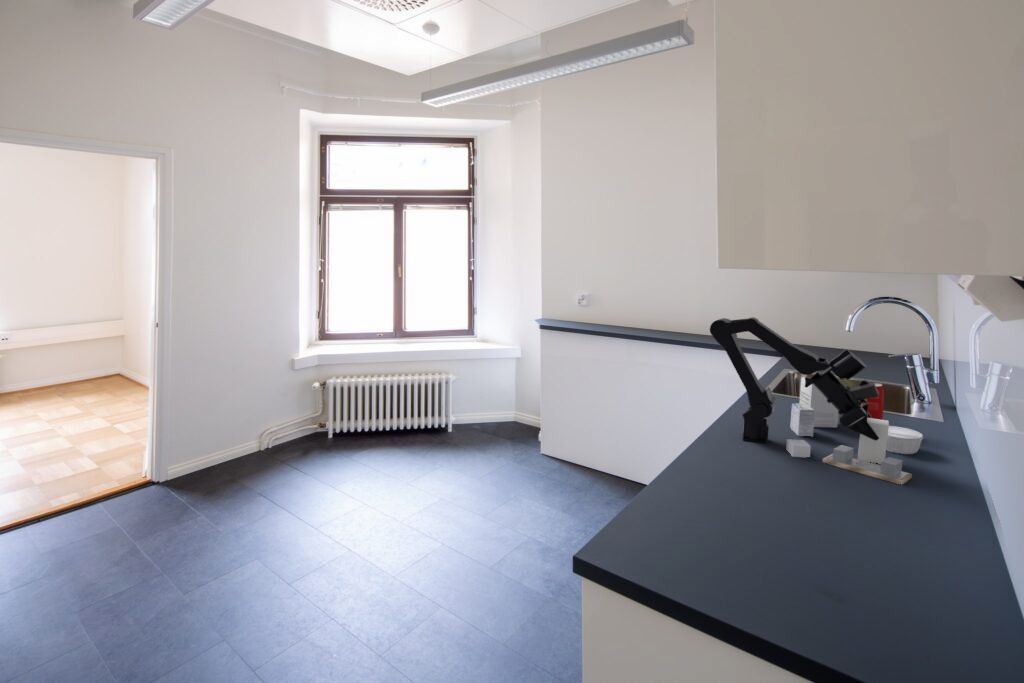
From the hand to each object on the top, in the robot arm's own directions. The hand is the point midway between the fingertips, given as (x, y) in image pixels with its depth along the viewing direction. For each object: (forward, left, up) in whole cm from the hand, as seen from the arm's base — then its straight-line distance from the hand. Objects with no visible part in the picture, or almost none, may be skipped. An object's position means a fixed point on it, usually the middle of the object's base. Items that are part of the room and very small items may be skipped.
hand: (877, 434), depth 141 cm
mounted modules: (-4, -9, -6) cm, 11 cm away
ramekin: (+8, +13, -8) cm, 17 cm away
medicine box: (-16, +18, -7) cm, 25 cm away
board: (-4, -9, -7) cm, 12 cm away
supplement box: (-10, +31, -7) cm, 33 cm away
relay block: (-19, -3, -7) cm, 20 cm away
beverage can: (+5, +31, -7) cm, 32 cm away
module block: (-1, 0, -7) cm, 7 cm away
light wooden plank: (-4, -9, -7) cm, 12 cm away
